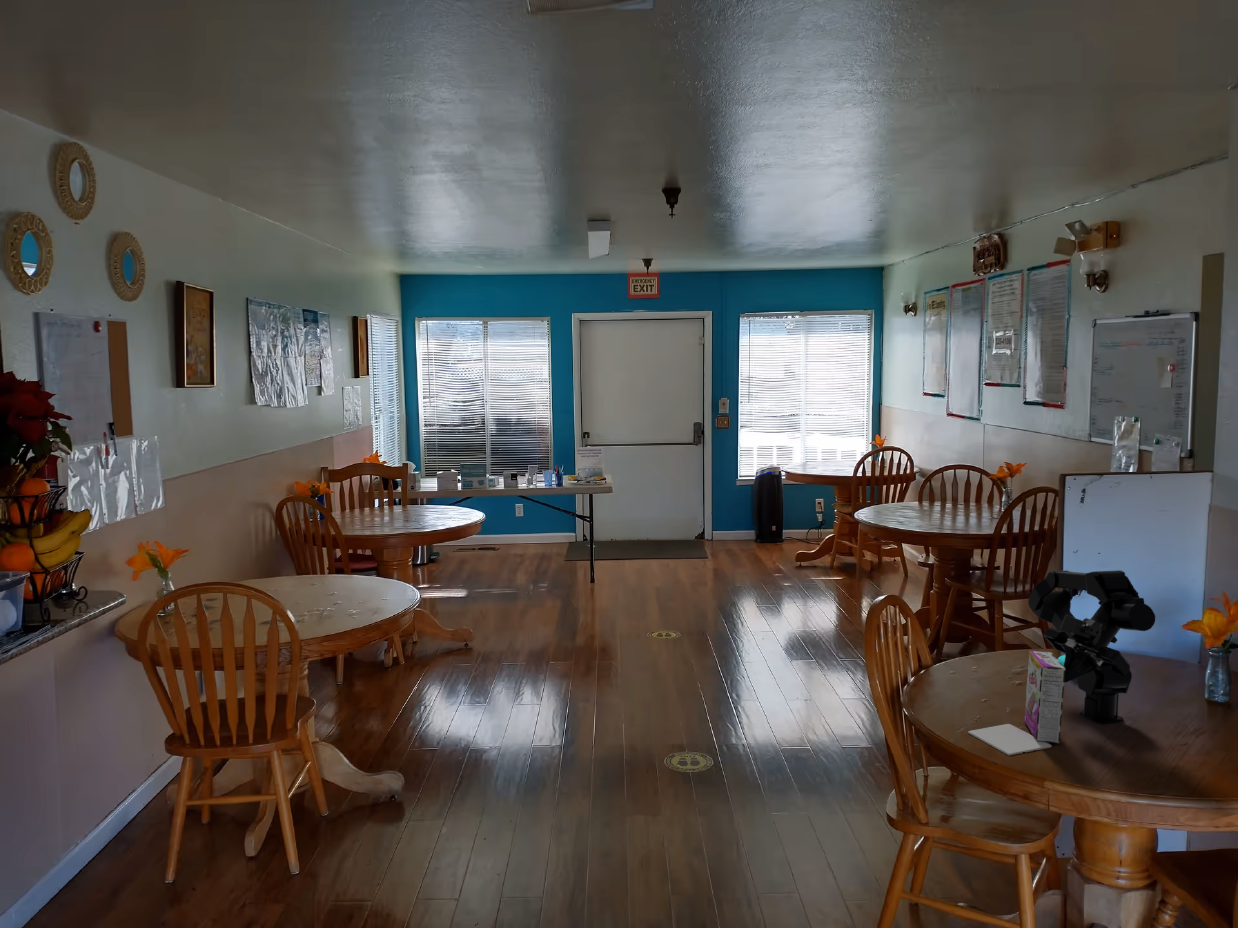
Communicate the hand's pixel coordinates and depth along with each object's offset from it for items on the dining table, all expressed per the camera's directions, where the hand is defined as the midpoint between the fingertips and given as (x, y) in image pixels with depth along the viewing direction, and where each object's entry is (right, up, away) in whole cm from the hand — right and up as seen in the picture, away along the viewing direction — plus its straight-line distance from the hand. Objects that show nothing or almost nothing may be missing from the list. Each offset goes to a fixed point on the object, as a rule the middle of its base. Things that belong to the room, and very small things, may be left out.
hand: (1062, 680), depth 194 cm
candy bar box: (-5, -11, 0) cm, 12 cm away
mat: (-13, -12, -3) cm, 18 cm away
